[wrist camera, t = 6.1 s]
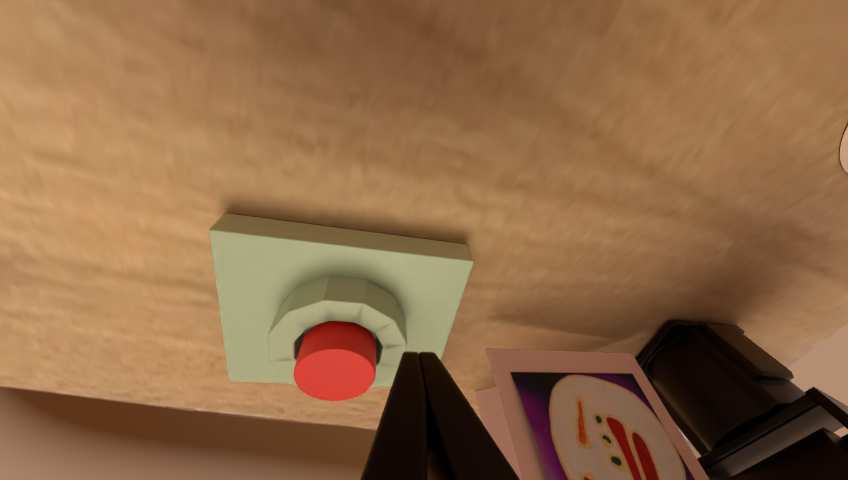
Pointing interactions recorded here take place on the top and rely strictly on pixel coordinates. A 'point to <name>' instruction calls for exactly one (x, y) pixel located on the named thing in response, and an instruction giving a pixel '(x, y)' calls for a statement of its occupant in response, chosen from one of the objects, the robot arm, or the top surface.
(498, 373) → the greeting card
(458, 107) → the top surface
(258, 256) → the button housing
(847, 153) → the cylindrical container
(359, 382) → the button
